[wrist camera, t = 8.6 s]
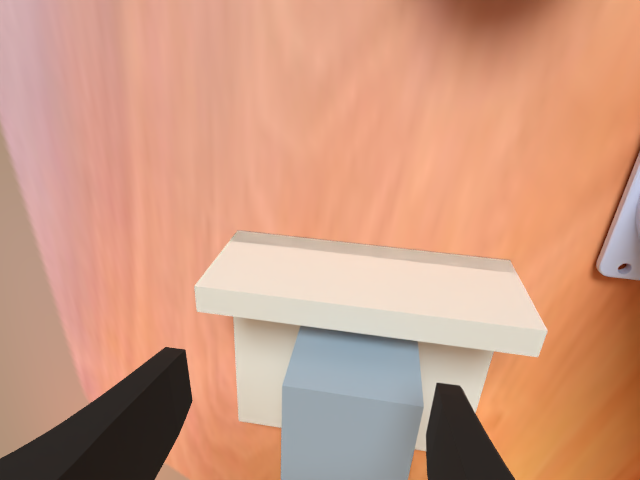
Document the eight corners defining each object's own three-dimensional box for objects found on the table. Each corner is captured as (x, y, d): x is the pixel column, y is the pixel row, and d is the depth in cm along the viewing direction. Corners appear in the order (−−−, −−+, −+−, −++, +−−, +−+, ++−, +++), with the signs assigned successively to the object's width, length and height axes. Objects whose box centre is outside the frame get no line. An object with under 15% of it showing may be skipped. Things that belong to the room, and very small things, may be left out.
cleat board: (510, 260, 19) (547, 330, 15) (459, 438, 25) (475, 531, 20) (237, 230, 21) (194, 285, 16) (244, 405, 26) (213, 484, 22)
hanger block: (414, 307, 20) (423, 406, 15) (395, 412, 23) (397, 527, 18) (310, 293, 20) (282, 385, 15) (305, 399, 24) (280, 505, 18)
